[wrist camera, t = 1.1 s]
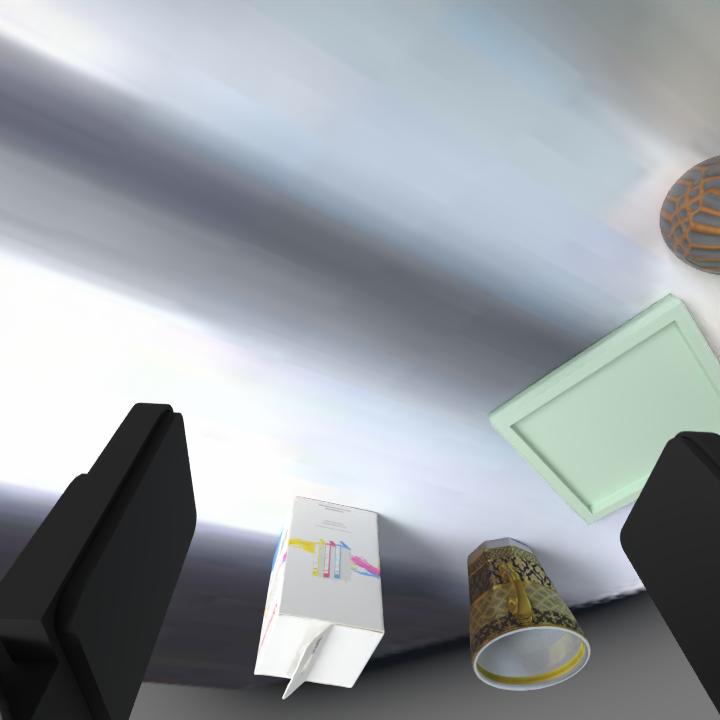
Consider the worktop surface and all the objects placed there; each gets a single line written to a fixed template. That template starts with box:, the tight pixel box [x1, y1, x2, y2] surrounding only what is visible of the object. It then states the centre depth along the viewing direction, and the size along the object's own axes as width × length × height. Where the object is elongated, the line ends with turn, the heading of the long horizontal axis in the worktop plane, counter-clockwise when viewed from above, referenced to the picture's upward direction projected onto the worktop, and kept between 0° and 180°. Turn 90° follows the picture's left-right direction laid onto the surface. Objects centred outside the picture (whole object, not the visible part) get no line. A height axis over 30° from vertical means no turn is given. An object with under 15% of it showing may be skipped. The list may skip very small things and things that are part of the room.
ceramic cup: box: [467, 538, 590, 690], centre depth 44 cm, size 13×10×10 cm
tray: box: [488, 294, 720, 525], centre depth 39 cm, size 16×16×2 cm
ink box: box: [254, 496, 385, 699], centre depth 40 cm, size 9×8×13 cm
